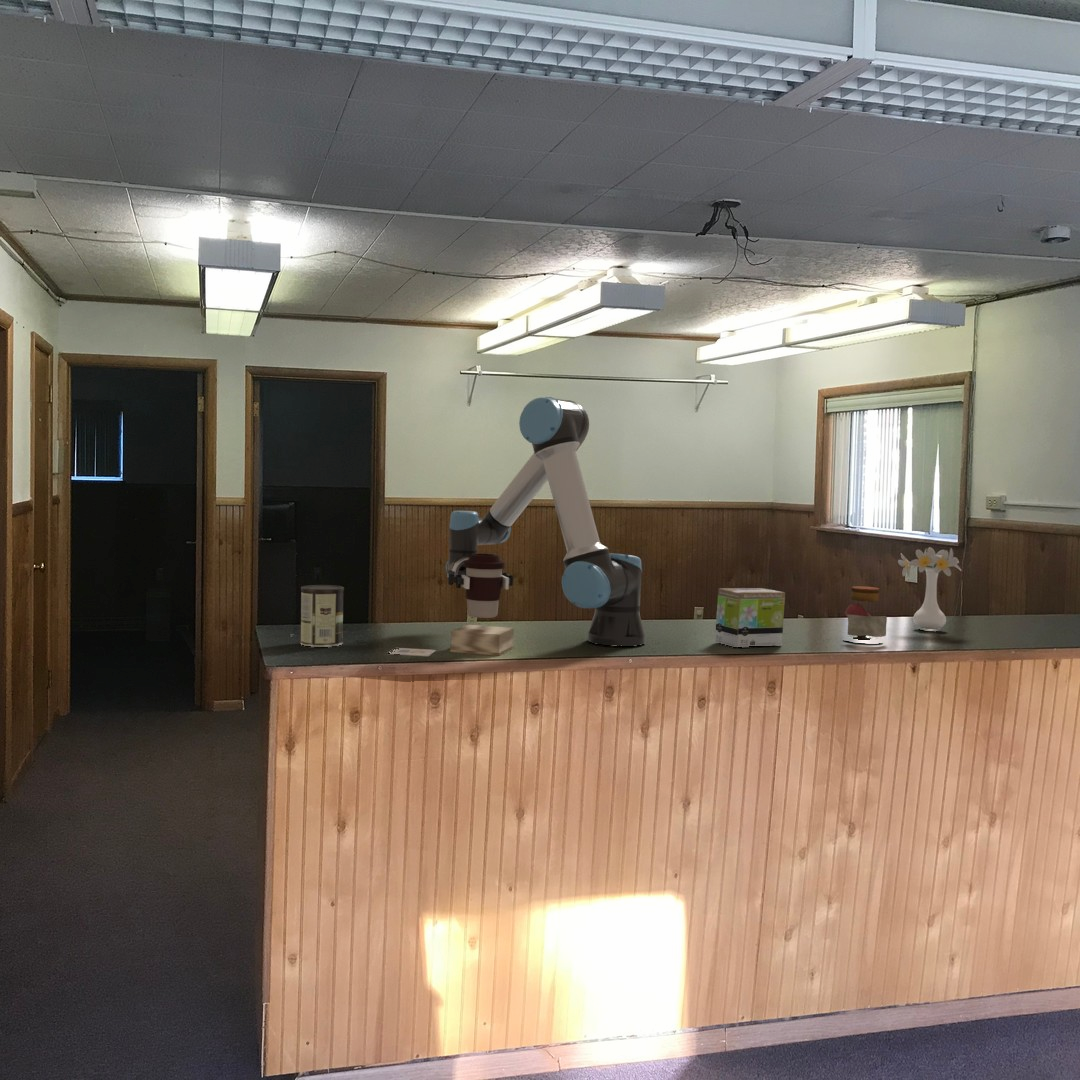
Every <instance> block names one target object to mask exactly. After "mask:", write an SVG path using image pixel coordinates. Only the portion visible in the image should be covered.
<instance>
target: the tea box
mask: <svg viewBox="0 0 1080 1080" xmlns="http://www.w3.org/2000/svg"><path fill="white" fill-rule="evenodd" d="M785 603H786V592H784V591H780V590H774V589H769V588H762V587H757V588H756V587H754V588H753V587H749V588H748V587H746V588H745V587H741V588H740V587H734V588H733V587H732V588H729V587H726V588H723V587H720V588H718V591H717V604H716V614H715V615H716V619H715V631H714V632H715V634H714V643H716V642H717V644H719V643H721V644H720V645H722V644H725V645H724V646H726V645H729V646H733V647H742V648H750V647H749V646H772V645H782V646H783V632H784V619H785V618H784V617H785V616H784V615H785ZM729 646H728V647H729ZM733 647H732V648H733Z"/></svg>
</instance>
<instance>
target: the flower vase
mask: <svg viewBox="0 0 1080 1080" xmlns="http://www.w3.org/2000/svg"><path fill="white" fill-rule="evenodd" d="M915 555H916V558H917V559H912V560H911V561H909V560H908V559H907V558H906V557H905V555H904V554H903V553H902V552H900V558H901V559H898V560H897V562H898V565H899V566H900V567H903V568H902V573H901V574H902V577H905V576H906V574H907V577H908V578H909V577H910V573H911V569H912V570H913V569H916V568H918V572H919V573H923V572H924V571H925V575H926V576H925V577H926V583H925V585H926V586H925V593H924V594H925V595H924V598H923V599H924V600H923V603H922V605H921V606H920V608H919V609H918V610H917V611H916V612H915V613H914V615H913V618H912V621H913V623H914V624H915V625H916V626H918V627H920V628H925V629H941V628H942V627H944V626H945V625H946V623H947V617H946V615H945V613H944V612H943V611H942V610H941V609H940V607H939V603H938V599H937V597H938V595H937V593H938V591H937V586H938V577H939V573H940V572H941V571H942V572H943V573H944V574H945V575H946V576H948V577H951V576H952V570H951V569H950V568H951V567H954V568H957V569H958V570H959V571H960V572H962V569H961V566H960V565H958V564H960V561H959V559H958V557H956V556H955V557H954V550H953V548H952V547H950V550H949V551H948V550H945V549H941V550H939V551H938V552H936V551H935V550H934V548H932V547H930V546H929V547H928V548H927V549H924V552H923V551H922V550H920V549H916V550H915ZM911 567H912V568H911Z"/></svg>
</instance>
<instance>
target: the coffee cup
mask: <svg viewBox="0 0 1080 1080" xmlns="http://www.w3.org/2000/svg"><path fill="white" fill-rule="evenodd" d="M464 567H466V576H468V577H469V578H470V583H469V589H465V598H466V605H467V609H466V610H467V615H468V617H472V618H479V619H480V618H481V619H488V618H490V619H491V618H492V619H493V618H496V617H497V616H498V612H499V603H500V602H499V601H500V600H501V591H502V587H501V584H502V576H501V575H502V573H503V569H506V568H505V567H506V562H505V561H503V560H501V559H500V556H499V555H498V554H496V553H495V554H494V553H477V554H471V555H470V557H469V560H464Z"/></svg>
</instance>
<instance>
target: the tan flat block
mask: <svg viewBox="0 0 1080 1080" xmlns="http://www.w3.org/2000/svg"><path fill="white" fill-rule="evenodd" d="M514 629H515V628H514V627H507V626H506V627H505V626H494V625H493V626H492V625H481V624H480V625H477V624H466V625H462V626H460V627H458V628H456V629H453V630H451V633H450V634H451V639H450V643H451V644H450V649H449V653H450V652H451V653H460V654H473V655H485V656H496V657H498V656H502V655H504V654H505V652H506V653H507V652H509V651H511V650H513V649H515V645H514V637H515V635H514V634H515V630H514ZM512 648H513V649H512ZM510 649H511V650H510ZM508 650H509V651H508ZM503 653H504V654H503Z"/></svg>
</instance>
